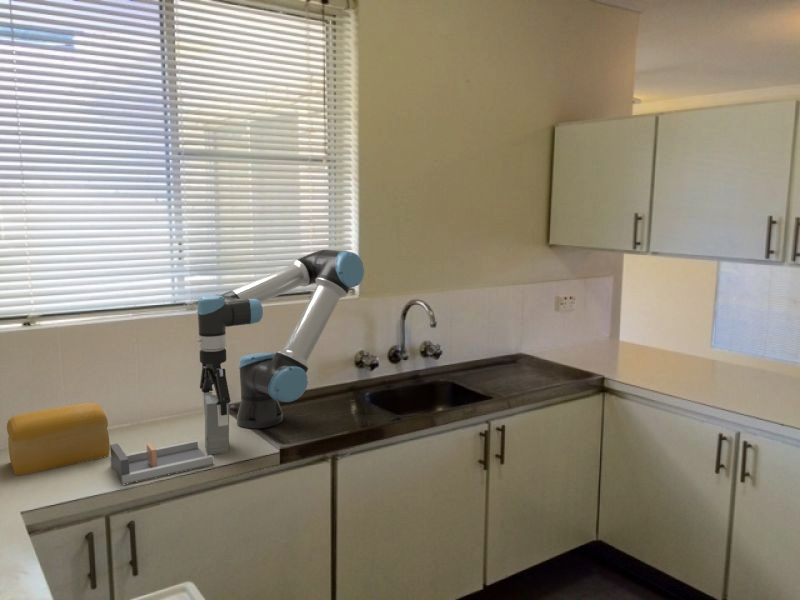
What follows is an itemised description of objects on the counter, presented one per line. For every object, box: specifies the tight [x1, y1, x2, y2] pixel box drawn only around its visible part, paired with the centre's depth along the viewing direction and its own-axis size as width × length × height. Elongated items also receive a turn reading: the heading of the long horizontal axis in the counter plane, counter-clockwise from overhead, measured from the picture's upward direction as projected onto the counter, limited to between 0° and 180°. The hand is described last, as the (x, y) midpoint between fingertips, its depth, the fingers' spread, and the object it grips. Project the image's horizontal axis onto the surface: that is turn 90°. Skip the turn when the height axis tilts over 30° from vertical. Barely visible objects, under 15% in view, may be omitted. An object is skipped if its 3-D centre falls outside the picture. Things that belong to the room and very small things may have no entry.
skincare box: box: [204, 394, 230, 456], centre depth 198 cm, size 8×7×16 cm
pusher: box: [146, 442, 157, 467], centre depth 185 cm, size 1×6×5 cm, turn 33°
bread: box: [6, 402, 111, 476], centre depth 192 cm, size 24×13×15 cm, turn 126°
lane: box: [110, 439, 215, 485], centre depth 187 cm, size 24×16×6 cm, turn 124°
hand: (215, 419), depth 197 cm, fingers open, 13 cm apart
